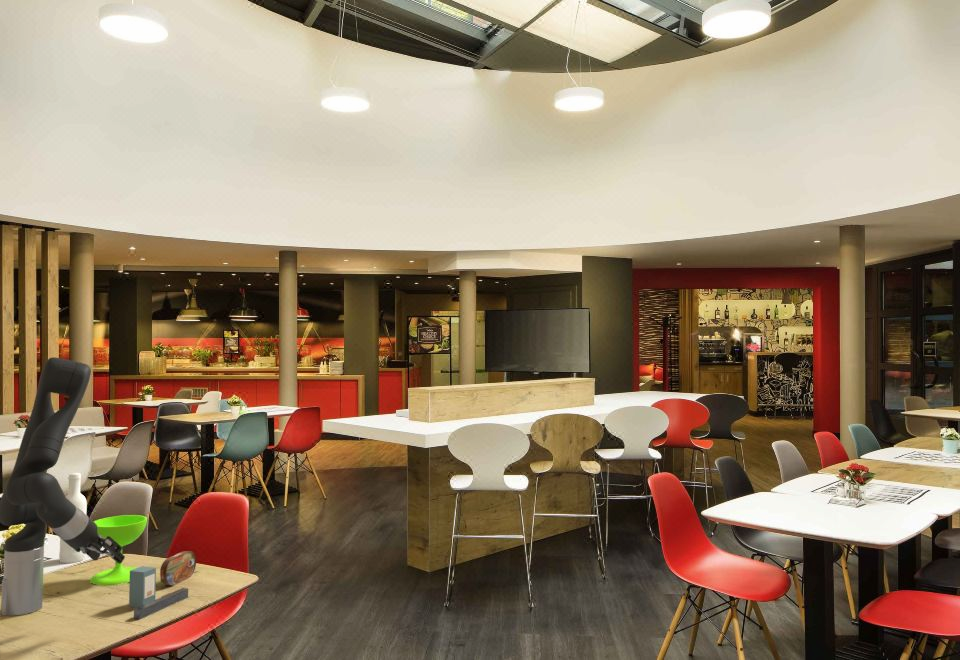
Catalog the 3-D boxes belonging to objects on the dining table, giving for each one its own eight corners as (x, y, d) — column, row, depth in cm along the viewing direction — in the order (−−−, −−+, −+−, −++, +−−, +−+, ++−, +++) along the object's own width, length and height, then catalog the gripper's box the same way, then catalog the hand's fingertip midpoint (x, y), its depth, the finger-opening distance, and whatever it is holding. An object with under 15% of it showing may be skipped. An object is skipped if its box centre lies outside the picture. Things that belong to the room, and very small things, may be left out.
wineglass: (107, 589, 206) (109, 529, 207) (79, 580, 214) (80, 522, 215) (156, 574, 220) (157, 519, 220) (128, 566, 228) (129, 513, 229)
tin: (166, 589, 206) (167, 561, 207) (157, 588, 207) (158, 560, 207) (196, 574, 221) (197, 547, 221) (188, 573, 222) (188, 547, 222)
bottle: (83, 555, 241) (85, 470, 242) (87, 560, 235) (90, 473, 236) (57, 559, 236) (59, 473, 237) (60, 565, 230) (63, 476, 231)
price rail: (139, 619, 182) (139, 610, 182) (131, 618, 183) (132, 608, 183) (188, 597, 199) (188, 588, 199) (180, 596, 200) (181, 587, 200)
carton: (129, 606, 192) (129, 570, 192) (141, 600, 196) (142, 566, 197) (143, 608, 190) (143, 572, 191) (155, 602, 195) (156, 567, 195)
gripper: (103, 515, 173) (138, 548, 183) (62, 511, 177) (98, 544, 188) (85, 541, 168) (122, 574, 178) (42, 536, 172) (81, 569, 183)
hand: (109, 558), depth 183 cm, fingers open, 8 cm apart
